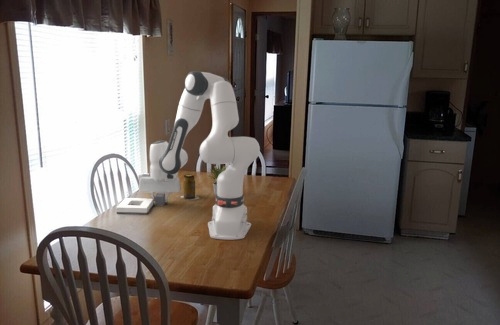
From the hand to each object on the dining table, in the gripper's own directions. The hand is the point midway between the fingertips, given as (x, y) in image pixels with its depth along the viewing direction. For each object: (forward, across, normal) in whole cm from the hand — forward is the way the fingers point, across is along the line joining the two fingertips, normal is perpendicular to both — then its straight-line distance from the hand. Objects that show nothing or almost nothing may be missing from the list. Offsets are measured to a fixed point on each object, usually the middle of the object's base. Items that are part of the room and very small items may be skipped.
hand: (160, 200), depth 219 cm
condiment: (+2, +13, +11) cm, 17 cm away
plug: (+2, 0, 0) cm, 2 cm away
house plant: (+2, +28, +16) cm, 32 cm away
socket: (+2, -10, -8) cm, 13 cm away
